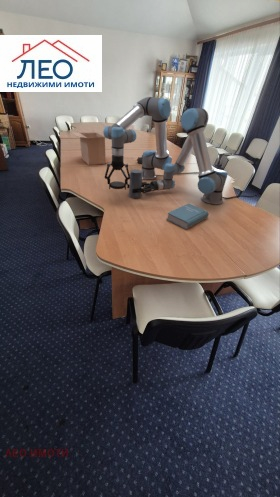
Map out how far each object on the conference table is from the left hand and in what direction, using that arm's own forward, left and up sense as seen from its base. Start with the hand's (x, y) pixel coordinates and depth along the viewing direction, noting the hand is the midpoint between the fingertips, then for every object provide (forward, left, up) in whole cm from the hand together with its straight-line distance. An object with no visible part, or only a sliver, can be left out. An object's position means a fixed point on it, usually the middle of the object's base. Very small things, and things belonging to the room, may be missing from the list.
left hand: (117, 188), depth 153 cm
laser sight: (-34, -97, -10) cm, 103 cm away
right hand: (-9, -10, -4) cm, 14 cm away
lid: (0, 0, +3) cm, 3 cm away
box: (+24, -101, -10) cm, 104 cm away
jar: (-14, -12, -10) cm, 20 cm away
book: (-45, +25, -10) cm, 53 cm away
